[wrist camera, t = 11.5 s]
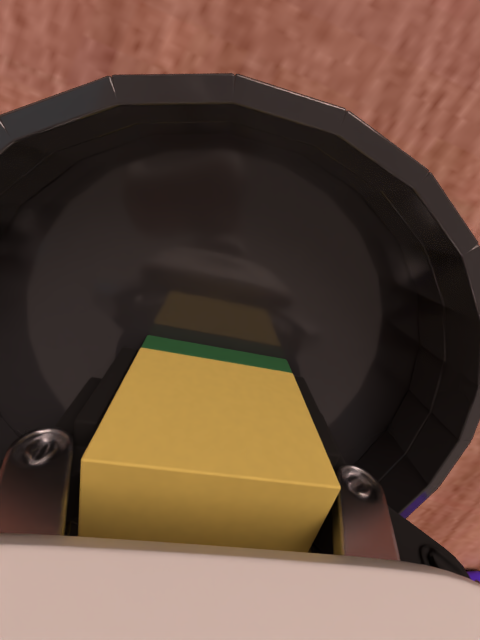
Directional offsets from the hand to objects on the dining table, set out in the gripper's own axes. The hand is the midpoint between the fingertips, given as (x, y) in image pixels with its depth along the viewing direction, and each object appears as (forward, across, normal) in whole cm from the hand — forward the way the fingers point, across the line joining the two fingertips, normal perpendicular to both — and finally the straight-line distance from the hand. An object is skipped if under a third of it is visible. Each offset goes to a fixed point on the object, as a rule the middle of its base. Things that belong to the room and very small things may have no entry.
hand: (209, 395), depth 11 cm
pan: (+1, 0, 0) cm, 1 cm away
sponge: (0, 0, 0) cm, 0 cm away
